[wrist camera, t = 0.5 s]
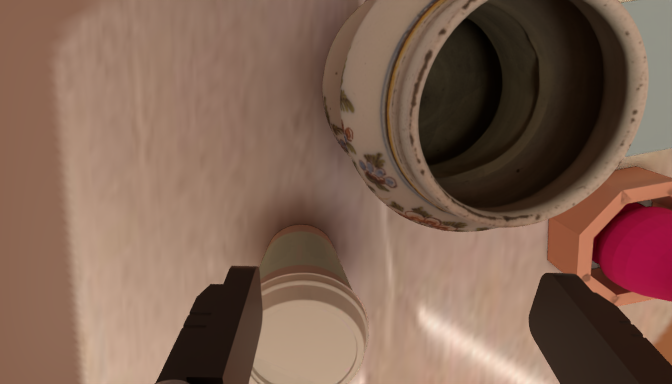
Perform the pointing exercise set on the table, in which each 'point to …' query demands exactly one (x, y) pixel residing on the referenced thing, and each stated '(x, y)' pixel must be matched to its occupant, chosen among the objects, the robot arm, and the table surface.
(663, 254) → the pepper mill
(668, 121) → the board
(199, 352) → the robot arm
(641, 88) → the apothecary jar
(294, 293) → the coffee cup
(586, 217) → the holder ring
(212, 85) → the table surface
